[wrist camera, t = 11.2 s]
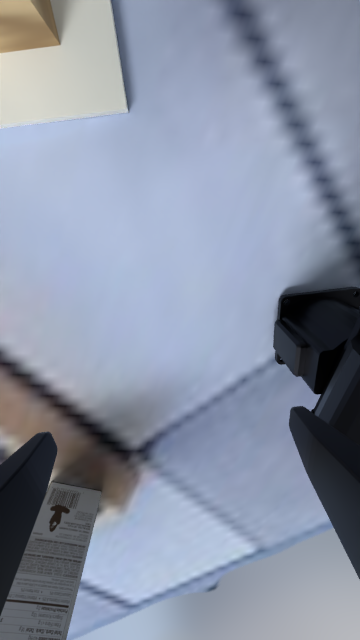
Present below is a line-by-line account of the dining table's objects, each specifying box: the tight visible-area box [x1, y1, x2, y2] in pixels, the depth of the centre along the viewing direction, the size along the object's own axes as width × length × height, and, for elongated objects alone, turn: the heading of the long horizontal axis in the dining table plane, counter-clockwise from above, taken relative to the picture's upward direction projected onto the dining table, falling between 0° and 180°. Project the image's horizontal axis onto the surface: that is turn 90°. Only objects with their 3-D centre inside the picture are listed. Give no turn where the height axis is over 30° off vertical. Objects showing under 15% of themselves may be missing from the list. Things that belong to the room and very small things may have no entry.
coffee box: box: [0, 482, 102, 640], centre depth 23 cm, size 9×6×16 cm
